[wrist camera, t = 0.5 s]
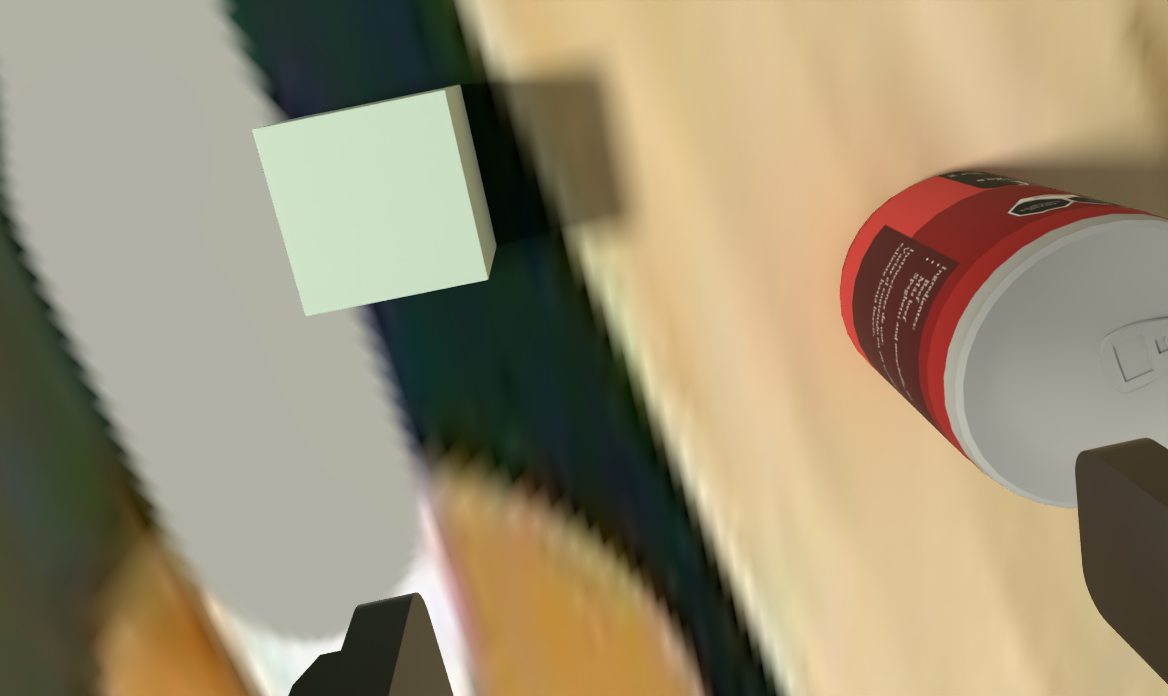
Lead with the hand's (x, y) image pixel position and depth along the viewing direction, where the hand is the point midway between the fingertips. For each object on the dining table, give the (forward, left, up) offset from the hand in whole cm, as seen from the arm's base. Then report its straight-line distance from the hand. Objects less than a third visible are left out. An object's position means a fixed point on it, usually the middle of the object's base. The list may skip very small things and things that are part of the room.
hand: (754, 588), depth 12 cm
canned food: (+4, +11, -24) cm, 26 cm away
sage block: (-3, -7, -24) cm, 25 cm away
